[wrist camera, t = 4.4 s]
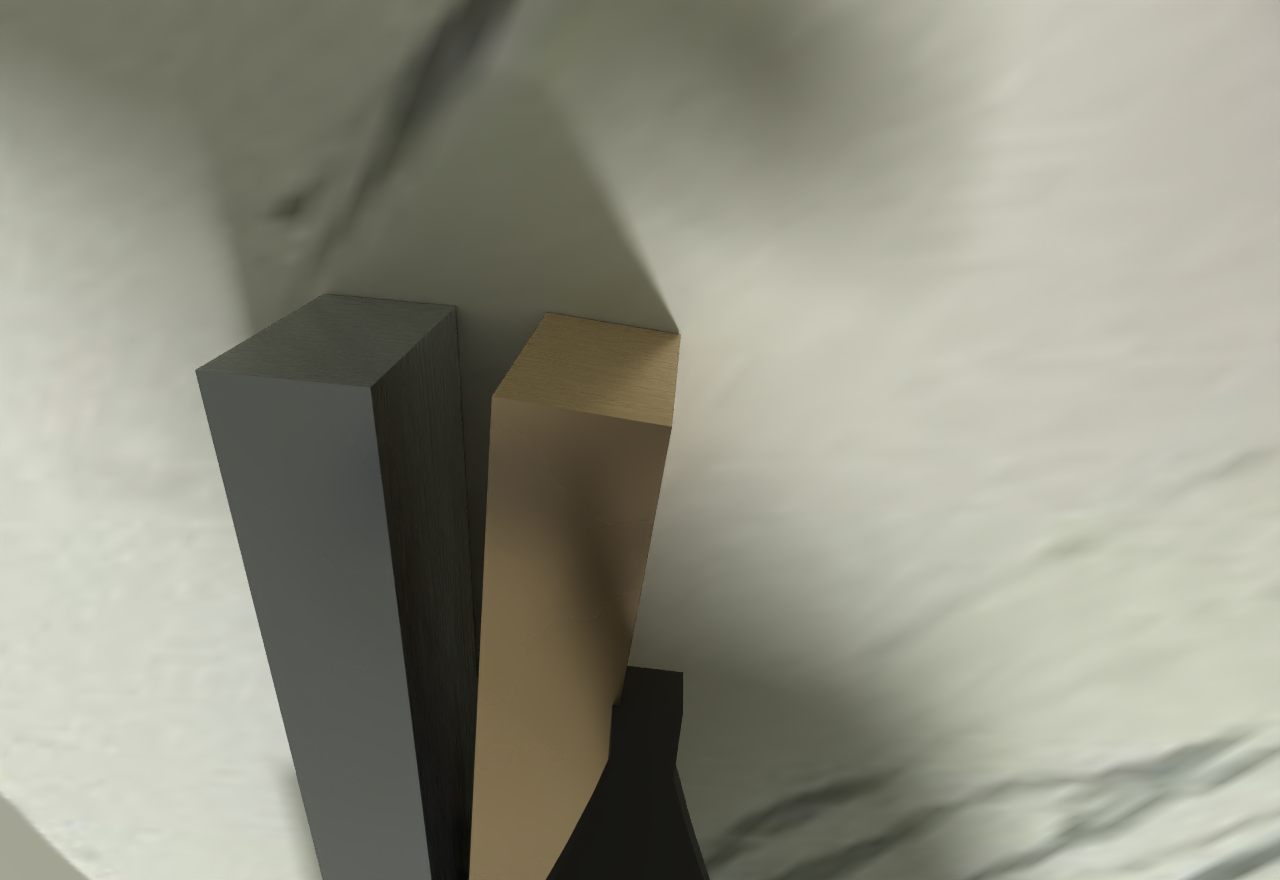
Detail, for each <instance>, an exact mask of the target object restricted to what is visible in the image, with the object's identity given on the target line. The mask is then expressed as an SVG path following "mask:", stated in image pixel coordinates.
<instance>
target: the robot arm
mask: <svg viewBox="0 0 1280 880" xmlns="http://www.w3.org/2000/svg"><path fill="white" fill-rule="evenodd" d="M682 715H683V672H675V671H666V670H658V669H649V668H640V667H632V666H627V669H626V674H625V679H624V685H623V690H622V695H621V701H620V706H618V705H612V715H611V728H610V741H609V754H608V761H607V763H606V765H605V768H604V770H603V772H602V774H601V777H600V779H599V781H598V783H597V785H596V787H595V790H594V792H593V794H592V796H591V798H590V800H589V801H588V803H587V805H586V807H585V809H584V811H583V813H582V815H581V817H580V819H579V821H578V822H577V824H576V826H575V828H574V830H573V832H572V834H571V836H570V838H569V840H568V842H567V843H566V845H565V847H564V849H563V851H562V852H561V854H560V856H559V858H558V859H557V861H556V863H555V865H554V866H553V868H552V870H551V871H550V873H549V875H548V876H547V878H546V880H710V878H709V876H708V873H707V870H706V867H705V864H704V861H703V858H702V854H701V851H700V848H699V845H698V842H697V839H696V836H695V833H694V829H693V826H692V823H691V819H690V816H689V812H688V809H687V805H686V801H685V798H684V794H683V790H682V786H681V782H680V778H679V775H678V771H677V767H676V756H677V750H678V743H679V736H680V729H681V722H682Z"/></svg>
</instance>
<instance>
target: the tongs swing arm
mask: <svg viewBox="0 0 1280 880" xmlns="http://www.w3.org/2000/svg"><path fill="white" fill-rule="evenodd" d="M680 336H681V335H679V334H673V333H667V332H661V331H655V330H649V329H643V328H637V327H631V326H625V325H619V324H613V323H607V322H601V321H595V320H589V319H583V318H577V317H571V316H565V315H559V314H553V313H546V314H545V316H544V317H543V319H542V320H541V322H540V324H539V325H538V327H537V328H536V330H535V331H534V333H533V334H532V336H531V337H530V339H529V340H528V342H527V343H526V345H525V346H524V348H523V350H522V351H521V353H520V354H519V356H518V357H517V359H516V360H515V362H514V363H513V365H512V366H511V368H510V369H509V371H508V372H507V374H506V376H505V377H504V379H503V380H502V382H501V383H500V385H499V386H498V388H497V389H496V391H495V392H494V394H493V395H492V403H491V424H490V445H489V467H488V488H487V509H486V531H485V552H484V574H483V595H482V616H481V638H480V659H479V681H478V702H477V723H476V745H475V766H474V788H473V809H472V830H471V852H470V873H469V880H546V878H547V876H548V875H549V873H550V871H551V870H552V868H553V866H554V865H555V863H556V861H557V859H558V858H559V856H560V854H561V852H562V851H563V849H564V847H565V845H566V843H567V842H568V840H569V838H570V836H571V834H572V832H573V830H574V828H575V826H576V824H577V822H578V821H579V819H580V817H581V815H582V813H583V811H584V809H585V807H586V805H587V803H588V801H589V800H590V798H591V796H592V794H593V792H594V790H595V787H596V785H597V783H598V781H599V779H600V777H601V774H602V772H603V770H604V768H605V765H606V763H607V761H608V754H609V741H610V728H611V715H612V705H618V706H620V701H621V695H622V690H623V685H624V679H625V674H626V669H627V663H628V658H629V653H630V647H631V642H632V637H633V631H634V626H635V621H636V615H637V610H638V605H639V599H640V594H641V589H642V583H643V578H644V573H645V567H646V562H647V557H648V551H649V546H650V541H651V535H652V530H653V525H654V519H655V514H656V509H657V503H658V498H659V493H660V487H661V482H662V477H663V471H664V466H665V461H666V455H667V450H668V445H669V439H670V434H671V429H672V420H673V410H674V399H675V389H676V378H677V368H678V357H679V347H680Z"/></svg>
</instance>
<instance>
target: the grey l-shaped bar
mask: <svg viewBox="0 0 1280 880" xmlns="http://www.w3.org/2000/svg"><path fill="white" fill-rule="evenodd" d="M195 371H196V375H197V379H198V383H199V387H200V391H201V395H202V399H203V403H204V407H205V411H206V415H207V419H208V423H209V427H210V431H211V435H212V439H213V443H214V447H215V451H216V455H217V459H218V463H219V467H220V471H221V475H222V479H223V483H224V487H225V491H226V495H227V499H228V503H229V507H230V511H231V515H232V519H233V523H234V527H235V531H236V535H237V539H238V543H239V547H240V551H241V555H242V559H243V563H244V567H245V571H246V575H247V579H248V583H249V587H250V591H251V595H252V599H253V603H254V607H255V611H256V615H257V619H258V623H259V627H260V631H261V635H262V639H263V643H264V647H265V651H266V655H267V659H268V663H269V667H270V671H271V675H272V679H273V683H274V687H275V691H276V694H277V698H278V702H279V706H280V710H281V714H282V718H283V722H284V726H285V730H286V734H287V738H288V742H289V746H290V750H291V754H292V758H293V762H294V766H295V770H296V774H297V778H298V782H299V786H300V790H301V794H302V798H303V802H304V806H305V810H306V814H307V818H308V822H309V826H310V830H311V834H312V838H313V842H314V846H315V850H316V854H317V858H318V862H319V866H320V870H321V874H322V878H323V880H469V873H470V852H471V830H472V809H473V788H474V766H475V745H476V723H477V702H478V686H477V668H476V651H475V634H474V616H473V599H472V581H471V564H470V546H469V529H468V511H467V494H466V476H465V459H464V441H463V424H462V406H461V389H460V372H459V354H458V337H457V319H456V306H446V305H436V304H425V303H414V302H404V301H393V300H383V299H372V298H361V297H351V296H340V295H329V294H323V295H322V296H320V297H318V298H317V299H315V300H313V301H312V302H310V303H308V304H307V305H305V306H303V307H301V308H300V309H298V310H296V311H295V312H293V313H291V314H290V315H288V316H286V317H284V318H283V319H281V320H279V321H278V322H276V323H274V324H273V325H271V326H269V327H268V328H266V329H264V330H262V331H261V332H259V333H257V334H256V335H254V336H252V337H251V338H249V339H247V340H245V341H244V342H242V343H240V344H239V345H237V346H235V347H234V348H232V349H230V350H229V351H227V352H225V353H223V354H222V355H220V356H218V357H217V358H215V359H213V360H212V361H210V362H208V363H207V364H205V365H203V366H201V367H200V368H198V369H196V370H195Z"/></svg>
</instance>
